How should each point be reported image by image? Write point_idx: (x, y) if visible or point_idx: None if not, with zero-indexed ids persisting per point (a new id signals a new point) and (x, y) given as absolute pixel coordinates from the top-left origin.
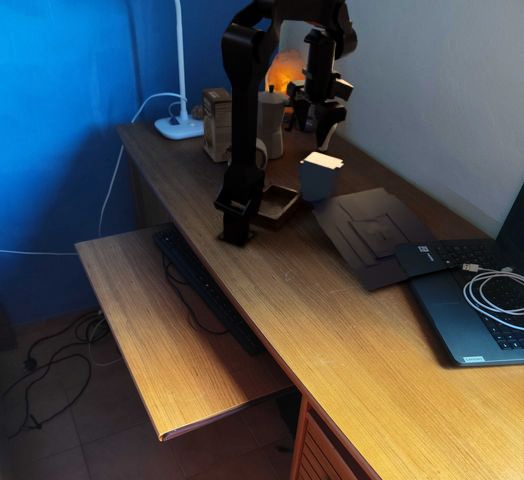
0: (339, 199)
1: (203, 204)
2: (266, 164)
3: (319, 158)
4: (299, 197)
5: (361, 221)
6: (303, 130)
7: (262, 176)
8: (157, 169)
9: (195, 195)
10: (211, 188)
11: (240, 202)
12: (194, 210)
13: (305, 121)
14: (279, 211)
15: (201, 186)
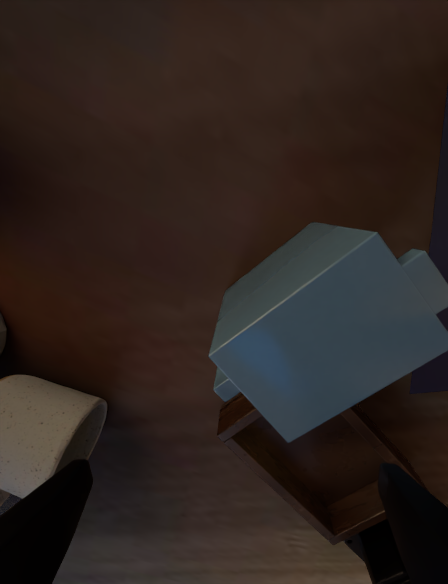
0: (446, 281)
1: (229, 551)
2: (94, 405)
3: (300, 363)
4: None
5: None
6: (85, 469)
7: None
8: (55, 580)
9: (185, 553)
10: (160, 518)
11: None
12: (249, 571)
13: (29, 533)
14: (332, 428)
15: (146, 533)
